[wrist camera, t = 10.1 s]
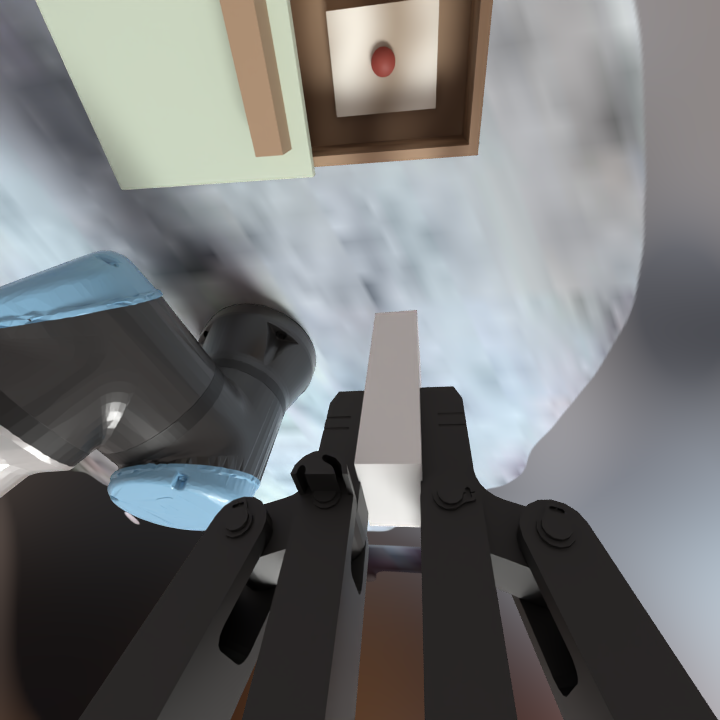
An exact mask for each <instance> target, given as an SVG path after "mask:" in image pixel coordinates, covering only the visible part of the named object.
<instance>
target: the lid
mask: <svg viewBox="0 0 720 720" xmlns="http://www.w3.org/2000/svg"><path fill="white" fill-rule="evenodd" d="M35 1H36V3H37V5H38V7H39V9H40V12H41V14H42V16H43V18H44V20H45V23H46V25H47V27H48V29H49V31H50V34H51V36H52V38H53V40H54V43H55V45H56V47H57V49H58V51H59V54H60V56H61V58H62V60H63V62H64V65H65V67H66V69H67V71H68V73H69V76H70V78H71V80H72V82H73V84H74V87H75V89H76V91H77V93H78V95H79V98H80V100H81V102H82V104H83V106H84V109H85V111H86V113H87V115H88V117H89V120H90V122H91V124H92V126H93V128H94V131H95V133H96V135H97V137H98V139H99V142H100V144H101V146H102V148H103V150H104V153H105V155H106V157H107V159H108V161H109V164H110V166H111V168H112V170H113V172H114V175H115V177H116V179H117V181H118V183H119V186H120V188H121V190H131V189H146V188H161V187H175V186H190V185H204V184H219V183H233V182H248V181H263V180H277V179H292V178H306V177H314V176H315V169H314V162H313V155H312V148H311V142H310V135H309V128H308V121H307V114H306V107H305V101H304V94H303V87H302V80H301V73H300V66H299V60H298V53H297V46H296V39H295V32H294V26H293V19H292V12H291V5H290V0H35Z"/></svg>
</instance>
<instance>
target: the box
mask: <svg viewBox="0 0 720 720" xmlns="http://www.w3.org/2000/svg"><path fill="white" fill-rule="evenodd" d="M290 5H291V12H292V19H293V26H294V32H295V39H296V46H297V53H298V60H299V66H300V73H301V80H302V87H303V94H304V101H305V107H306V114H307V121H308V128H309V135H310V142H311V148H312V155H313V162H314V167H320V166H334V165H348V164H362V163H375V162H389V161H403V160H417V159H430V158H444V157H458V156H472V155H478V146H479V136H480V126H481V116H482V106H483V96H484V86H485V76H486V65H487V55H488V45H489V35H490V25H491V15H492V5H493V0H290Z"/></svg>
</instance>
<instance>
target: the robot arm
mask: <svg viewBox="0 0 720 720" xmlns="http://www.w3.org/2000/svg"><path fill="white" fill-rule="evenodd" d="M162 295H163V294H162V292H161V291H160V290H158V289H155V288H154V287H153V285H152V284H151V283H150V282H149V281H148V280H147V279H146V278H145V276H144V275H143V274H142V273H141V272H140V271H139V270H138V269H137V267H136V266H135V265H134V264H133V263H132V262H131V261H130V260H129V259H128V258H126V257H125V256H123V255H121V254H119V253H116V252H113V251H97V252H93V253H90V254H87V255H85V256H82V257H79V258H76V259H74V260H71V261H68V262H65V263H63V264H60V265H57V266H55V267H52V268H49V269H47V270H44V271H41V272H39V273H36V274H33V275H30V276H28V277H25V278H22V279H20V280H17V281H14V282H12V283H9V284H6V285H4V286H1V287H0V497H2V496H3V495H4V494H5V493H7V492H8V491H9V490H10V489H12V488H13V487H14V486H16V485H17V484H18V483H19V482H21V481H22V480H23V479H25V478H26V477H27V476H28V475H31V474H34V473H38V472H50V471H63V470H70V469H72V468H73V467H74V466H75V465H77V464H78V463H79V462H80V461H81V460H83V459H84V458H85V457H86V456H88V455H89V454H90V453H92V452H93V451H94V450H96V449H97V450H98V451H100V452H101V453H102V454H103V455H105V456H106V457H107V458H108V459H110V460H111V461H112V462H113V463H115V464H116V465H117V466H118V470H117V471H115V472H114V473H113V474H112V475H111V478H110V483H109V485H108V493H109V495H110V497H111V500H112V501H113V502H114V503H115V504H116V505H117V506H119V507H120V508H121V509H123V510H124V511H126V512H128V513H130V514H132V515H134V516H136V517H139V518H141V519H144V520H146V521H150V522H152V523H156V524H160V525H163V526H168V527H173V528H178V529H185V530H206V531H205V532H204V534H203V535H202V537H201V538H200V540H199V541H198V543H197V544H196V546H195V547H194V548H193V550H192V552H191V553H190V554H189V556H188V557H187V559H186V561H185V562H184V563H183V565H182V567H181V568H180V569H179V571H178V572H177V574H176V575H175V577H174V578H173V580H172V581H171V583H170V585H169V586H168V587H167V589H166V590H165V592H164V593H163V595H162V596H161V598H160V599H159V601H158V602H157V604H156V605H155V607H154V608H153V610H152V611H151V613H150V614H149V616H148V617H147V619H146V620H145V622H144V623H143V625H142V626H141V628H140V629H139V630H138V632H137V633H136V635H135V636H134V638H133V639H132V641H131V643H130V644H129V645H128V647H127V648H126V650H125V651H124V653H123V654H122V656H121V657H120V659H119V661H118V662H117V663H116V665H115V666H114V668H113V669H112V671H111V672H110V674H109V675H108V677H107V678H106V680H105V681H104V683H103V684H102V686H101V687H100V689H99V690H98V692H97V693H96V695H95V696H94V698H93V699H92V701H91V702H90V704H89V705H88V707H87V708H86V710H85V711H84V713H83V714H82V715H81V717H80V719H79V720H230V719H231V717H232V714H233V712H234V710H235V708H236V706H237V703H238V701H239V699H240V697H241V694H242V692H243V690H244V687H245V685H246V683H247V681H248V679H249V676H250V674H251V671H252V670H253V667H254V665H255V663H256V661H257V663H256V667H255V671H254V675H253V679H252V683H251V687H250V690H249V694H248V699H247V702H246V706H245V710H244V714H243V718H242V720H355V710H356V698H357V686H358V673H359V662H360V649H361V637H362V624H363V613H364V601H365V588H366V577H367V565H368V553H369V546H368V538H367V525H368V519H369V523H370V526H398V527H399V526H400V527H421V558H422V604H423V654H424V702H425V720H517V715H516V708H515V702H514V697H513V690H512V684H511V678H510V672H509V665H508V659H507V653H506V647H505V641H504V634H503V628H502V623H501V617H500V610H499V604H498V598H497V592H496V588H497V589H499V590H502V591H504V592H506V593H509V594H511V595H512V597H513V599H514V601H515V604H516V606H517V609H518V611H519V613H520V616H521V618H522V621H523V623H524V625H525V628H526V630H527V633H528V635H529V638H530V640H531V642H532V645H533V647H534V650H535V652H536V654H537V657H538V659H539V661H540V664H541V666H542V669H543V671H544V673H545V676H546V678H547V681H548V683H549V685H550V688H551V690H552V693H553V695H554V697H555V700H556V702H557V705H558V707H559V709H560V712H561V715H562V717H563V719H564V720H718V719H717V718H716V716H715V715H714V713H713V712H712V710H711V709H710V707H709V706H708V704H707V703H706V701H705V700H704V698H703V697H702V695H701V694H700V692H699V690H698V689H697V687H696V686H695V684H694V683H693V681H692V680H691V678H690V677H689V676H688V674H687V672H686V671H685V669H684V668H683V666H682V665H681V663H680V662H679V660H678V659H677V657H676V656H675V654H674V653H673V651H672V650H671V648H670V647H669V645H668V644H667V642H666V641H665V639H664V637H663V636H662V635H661V633H660V631H659V630H658V629H657V627H656V625H655V624H654V622H653V621H652V619H651V618H650V616H649V615H648V613H647V612H646V610H645V609H644V607H643V606H642V604H641V603H640V601H639V600H638V599H637V597H636V595H635V594H634V592H633V591H632V589H631V588H630V586H629V584H628V583H627V581H626V580H625V579H624V577H623V575H622V574H621V572H620V571H619V570H618V568H617V566H616V565H615V563H614V562H613V560H612V559H611V557H610V556H609V554H608V553H607V551H606V550H605V548H604V547H603V545H602V544H601V542H600V541H599V539H598V538H597V536H596V535H595V533H594V531H593V530H592V528H591V527H590V525H589V524H588V523H587V521H586V520H585V519H584V518H583V517H582V516H581V515H580V514H579V513H578V512H577V511H575V510H574V509H573V508H571V507H569V506H568V505H566V504H564V503H561V502H557V501H554V500H537V501H535V502H533V503H530V504H528V505H527V506H523V505H519V504H516V503H513V502H510V501H506V500H503V499H501V498H499V497H496V496H494V495H493V494H491V493H490V492H488V491H487V490H486V489H485V488H484V487H483V486H482V485H481V484H480V483H479V481H478V479H477V478H476V476H475V473H474V469H473V463H472V457H471V450H470V444H469V438H468V431H467V427H466V419H465V413H464V406H463V400H462V397H461V396H460V395H459V393H458V392H457V391H456V389H455V388H454V387H453V386H451V387H425V388H421V367H420V351H419V336H418V320H417V310H412V311H399V312H385V313H375V320H374V327H373V334H372V341H371V348H370V355H369V363H368V370H367V377H366V384H365V391H346V392H339V393H338V394H337V395H336V396H335V398H334V399H333V400H332V402H331V403H330V406H329V410H328V414H327V419H326V422H325V427H324V431H323V435H322V439H321V443H320V448H319V451H315V452H312V453H310V454H308V455H306V456H304V457H303V458H302V459H301V460H300V461H299V462H298V463H296V464H295V466H294V468H293V470H292V472H291V476H292V478H293V481H294V483H295V485H296V487H297V490H298V492H297V493H295V494H294V495H291V496H289V497H287V498H284V499H280V500H277V501H274V502H270V503H267V504H264V505H263V503H262V501H260V500H258V499H256V498H255V497H253V496H254V493H255V491H256V490H257V489H258V488H259V486H260V481H261V479H262V476H263V473H264V470H265V467H266V464H267V462H268V459H269V456H270V453H271V450H272V447H273V444H274V442H275V439H276V436H277V433H278V430H279V427H280V425H281V422H282V419H283V416H284V414H285V411H286V410H287V409H288V408H289V407H290V406H291V405H292V404H293V403H294V402H295V400H296V399H297V398H298V397H299V396H300V395H301V394H302V393H303V392H304V391H305V390H306V389H307V387H308V386H309V384H310V382H311V379H312V376H313V373H314V370H315V366H316V355H315V350H314V347H313V345H312V342H311V341H310V339H309V337H308V336H307V334H306V333H305V332H304V330H303V329H302V328H301V327H300V326H299V325H298V324H297V323H295V322H294V321H293V320H292V319H290V318H289V317H287V316H286V315H284V314H282V313H280V312H278V311H276V310H274V309H271V308H268V307H265V306H260V305H254V304H239V305H233V306H230V307H227V308H225V309H223V310H221V311H219V312H218V313H217V314H215V315H214V316H213V318H212V319H211V320H210V321H209V322H208V324H207V325H206V326H205V328H204V329H203V331H202V333H201V335H200V338H199V343H198V341H197V340H196V339H195V338H194V336H193V335H192V334H191V333H190V331H189V330H188V329H187V328H186V326H185V325H184V324H183V323H182V321H181V320H180V319H179V318H178V316H177V315H176V314H175V313H174V311H173V310H172V309H171V307H170V306H169V305H168V304H167V302H166V301H165V300H164V299H163V297H162Z"/></svg>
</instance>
